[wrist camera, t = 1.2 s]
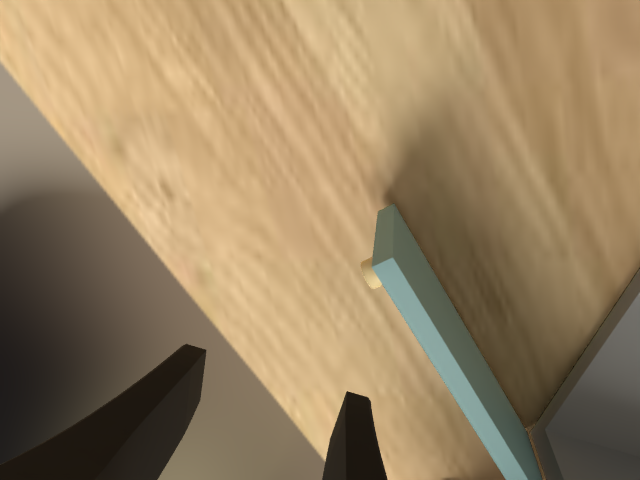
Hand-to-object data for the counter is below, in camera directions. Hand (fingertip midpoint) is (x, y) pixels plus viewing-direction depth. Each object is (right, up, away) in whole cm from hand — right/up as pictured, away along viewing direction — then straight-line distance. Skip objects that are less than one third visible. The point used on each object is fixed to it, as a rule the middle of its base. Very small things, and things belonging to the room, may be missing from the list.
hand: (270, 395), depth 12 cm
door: (+8, 0, +9) cm, 12 cm away
